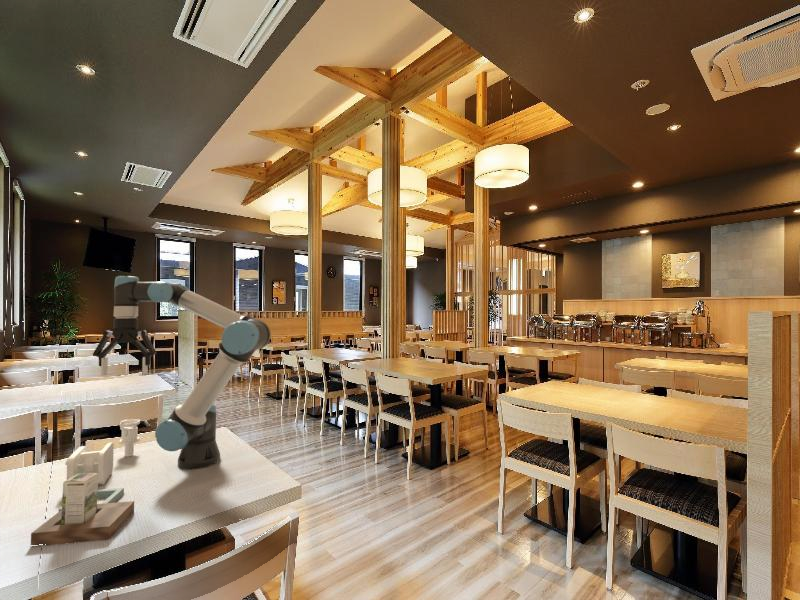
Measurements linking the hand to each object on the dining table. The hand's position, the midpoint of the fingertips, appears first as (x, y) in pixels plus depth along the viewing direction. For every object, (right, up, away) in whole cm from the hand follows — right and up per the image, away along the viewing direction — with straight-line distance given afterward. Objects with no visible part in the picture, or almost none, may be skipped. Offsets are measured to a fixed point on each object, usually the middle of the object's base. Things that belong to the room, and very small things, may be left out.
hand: (124, 374), depth 147 cm
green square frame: (+6, -36, -23) cm, 43 cm away
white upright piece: (-11, -37, +18) cm, 43 cm away
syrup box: (+13, -36, -37) cm, 53 cm away
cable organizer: (-7, -37, -7) cm, 38 cm away
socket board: (+15, -36, -37) cm, 53 cm away
